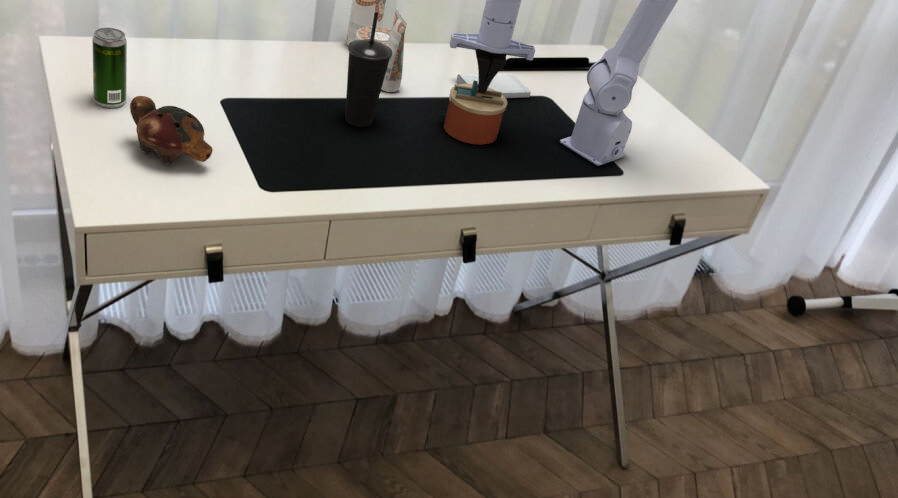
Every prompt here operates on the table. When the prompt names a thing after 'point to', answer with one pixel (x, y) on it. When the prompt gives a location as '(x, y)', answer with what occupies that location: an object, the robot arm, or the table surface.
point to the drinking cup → (365, 78)
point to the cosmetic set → (380, 36)
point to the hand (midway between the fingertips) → (481, 90)
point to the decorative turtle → (168, 131)
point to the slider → (469, 92)
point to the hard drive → (500, 84)
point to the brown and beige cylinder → (474, 115)
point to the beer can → (109, 67)
